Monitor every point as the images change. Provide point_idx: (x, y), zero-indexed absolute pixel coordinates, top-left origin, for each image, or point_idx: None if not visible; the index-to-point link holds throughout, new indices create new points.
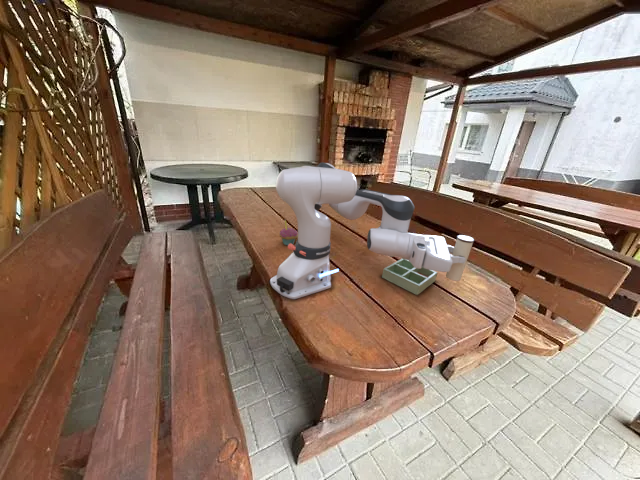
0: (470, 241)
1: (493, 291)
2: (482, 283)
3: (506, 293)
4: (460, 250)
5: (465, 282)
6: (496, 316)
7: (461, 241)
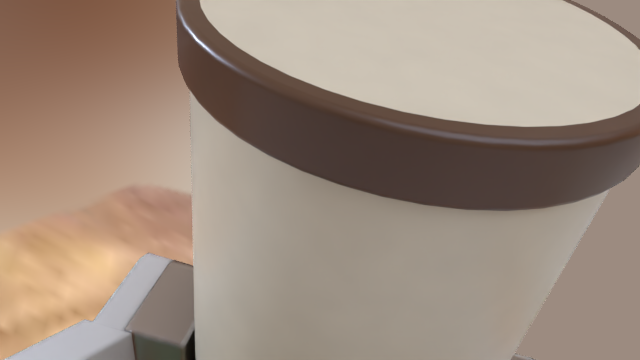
0: (617, 34)
1: (157, 233)
2: (69, 241)
3: (179, 192)
4: (510, 357)
5: (31, 330)
6: None
7: (600, 188)
